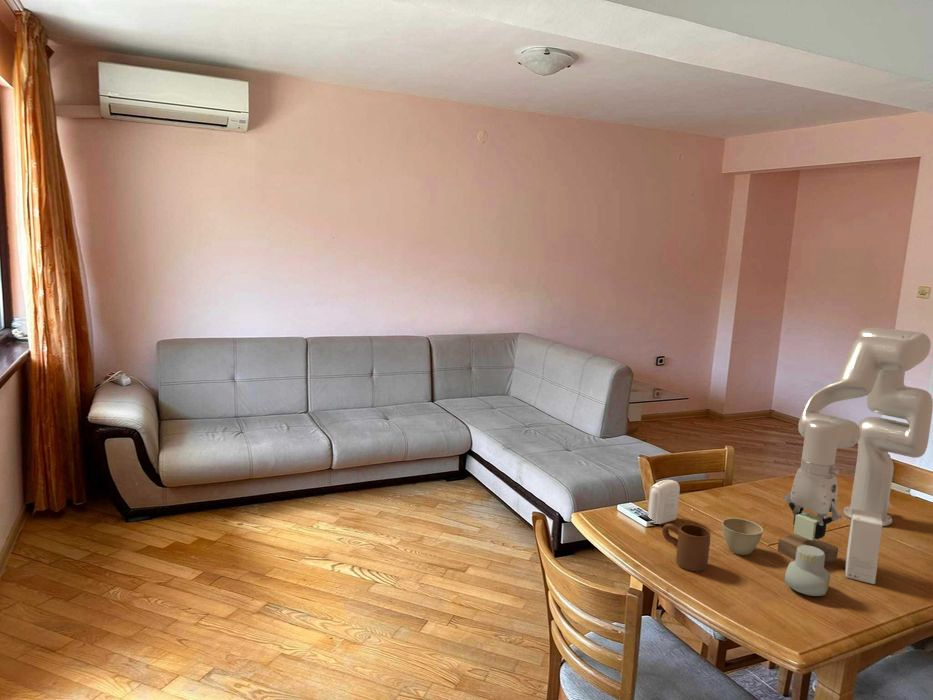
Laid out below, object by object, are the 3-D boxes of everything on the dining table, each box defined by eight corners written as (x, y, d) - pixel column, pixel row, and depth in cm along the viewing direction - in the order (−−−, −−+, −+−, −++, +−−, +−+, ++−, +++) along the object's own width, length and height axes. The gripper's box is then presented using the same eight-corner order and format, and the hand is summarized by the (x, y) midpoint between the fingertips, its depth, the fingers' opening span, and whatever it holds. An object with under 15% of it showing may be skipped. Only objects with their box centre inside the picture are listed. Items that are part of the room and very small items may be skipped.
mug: (654, 559, 160) (657, 525, 158) (665, 549, 165) (669, 516, 164) (701, 576, 152) (704, 540, 151) (711, 564, 158) (715, 530, 156)
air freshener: (792, 574, 155) (797, 537, 153) (829, 587, 149) (835, 548, 148) (781, 592, 146) (786, 552, 145) (820, 605, 141) (826, 564, 139)
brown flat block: (800, 545, 171) (802, 532, 171) (836, 562, 163) (838, 547, 162) (777, 552, 167) (778, 538, 166) (812, 570, 158) (814, 555, 157)
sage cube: (804, 529, 167) (806, 511, 166) (822, 536, 163) (825, 518, 162) (793, 532, 165) (795, 515, 164) (811, 540, 161) (814, 522, 160)
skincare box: (874, 585, 151) (884, 525, 148) (843, 577, 154) (851, 518, 152) (874, 571, 158) (882, 513, 155) (843, 563, 161) (852, 507, 159)
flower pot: (740, 540, 172) (743, 516, 171) (768, 557, 163) (771, 531, 162) (711, 544, 169) (714, 519, 168) (737, 562, 160) (740, 536, 159)
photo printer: (667, 514, 188) (670, 475, 186) (679, 519, 184) (682, 480, 182) (644, 521, 182) (647, 481, 180) (656, 527, 179) (659, 486, 177)
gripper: (859, 476, 156) (849, 544, 159) (793, 456, 170) (785, 518, 173) (843, 481, 152) (833, 550, 155) (777, 459, 166) (769, 523, 169)
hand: (808, 532), depth 164 cm, fingers closed on sage cube, 5 cm apart
